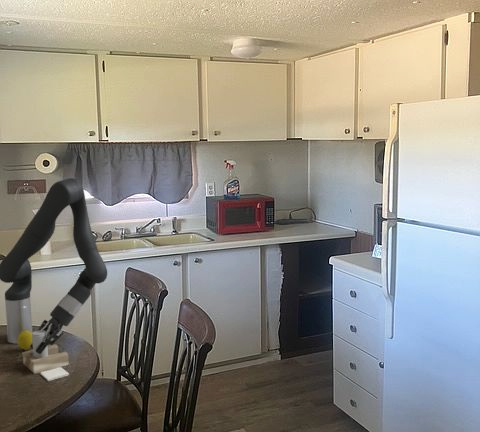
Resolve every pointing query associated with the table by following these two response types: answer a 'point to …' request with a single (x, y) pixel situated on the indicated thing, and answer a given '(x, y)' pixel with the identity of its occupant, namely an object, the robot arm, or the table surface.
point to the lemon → (25, 339)
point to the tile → (54, 373)
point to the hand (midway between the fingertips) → (34, 350)
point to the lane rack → (45, 360)
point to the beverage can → (36, 340)
